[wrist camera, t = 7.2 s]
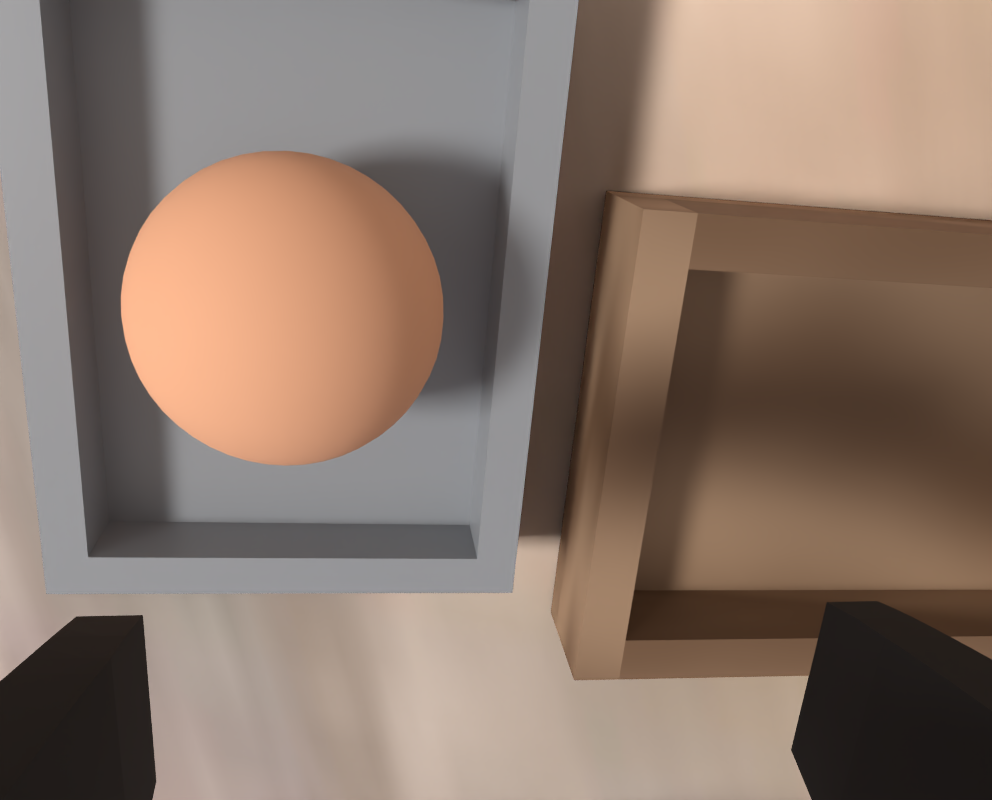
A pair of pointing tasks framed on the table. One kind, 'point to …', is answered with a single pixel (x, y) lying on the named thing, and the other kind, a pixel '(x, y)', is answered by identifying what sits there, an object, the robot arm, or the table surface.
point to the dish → (775, 435)
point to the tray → (300, 128)
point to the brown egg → (282, 308)
